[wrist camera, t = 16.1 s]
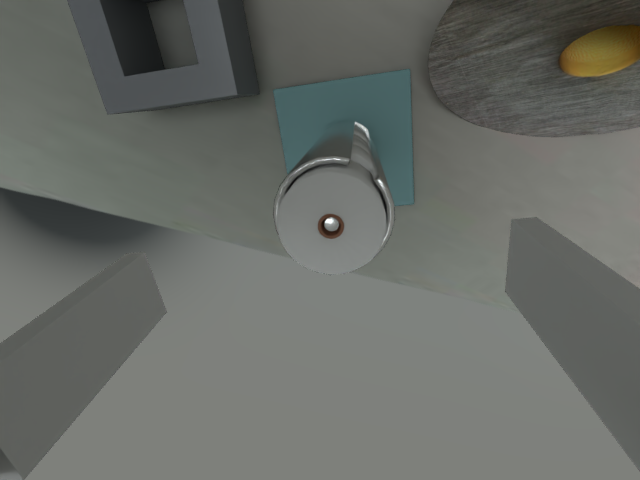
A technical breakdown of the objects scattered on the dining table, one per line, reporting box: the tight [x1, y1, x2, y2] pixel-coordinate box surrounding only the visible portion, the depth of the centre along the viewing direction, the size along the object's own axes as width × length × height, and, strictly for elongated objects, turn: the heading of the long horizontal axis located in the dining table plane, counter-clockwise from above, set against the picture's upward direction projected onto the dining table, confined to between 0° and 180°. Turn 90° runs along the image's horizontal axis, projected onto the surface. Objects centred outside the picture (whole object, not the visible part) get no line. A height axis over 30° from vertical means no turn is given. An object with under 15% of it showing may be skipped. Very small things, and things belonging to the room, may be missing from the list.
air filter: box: [273, 120, 395, 275], centre depth 28 cm, size 6×6×25 cm
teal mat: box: [273, 69, 414, 206], centre depth 40 cm, size 15×15×1 cm
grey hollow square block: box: [67, 0, 260, 114], centre depth 34 cm, size 14×14×8 cm
